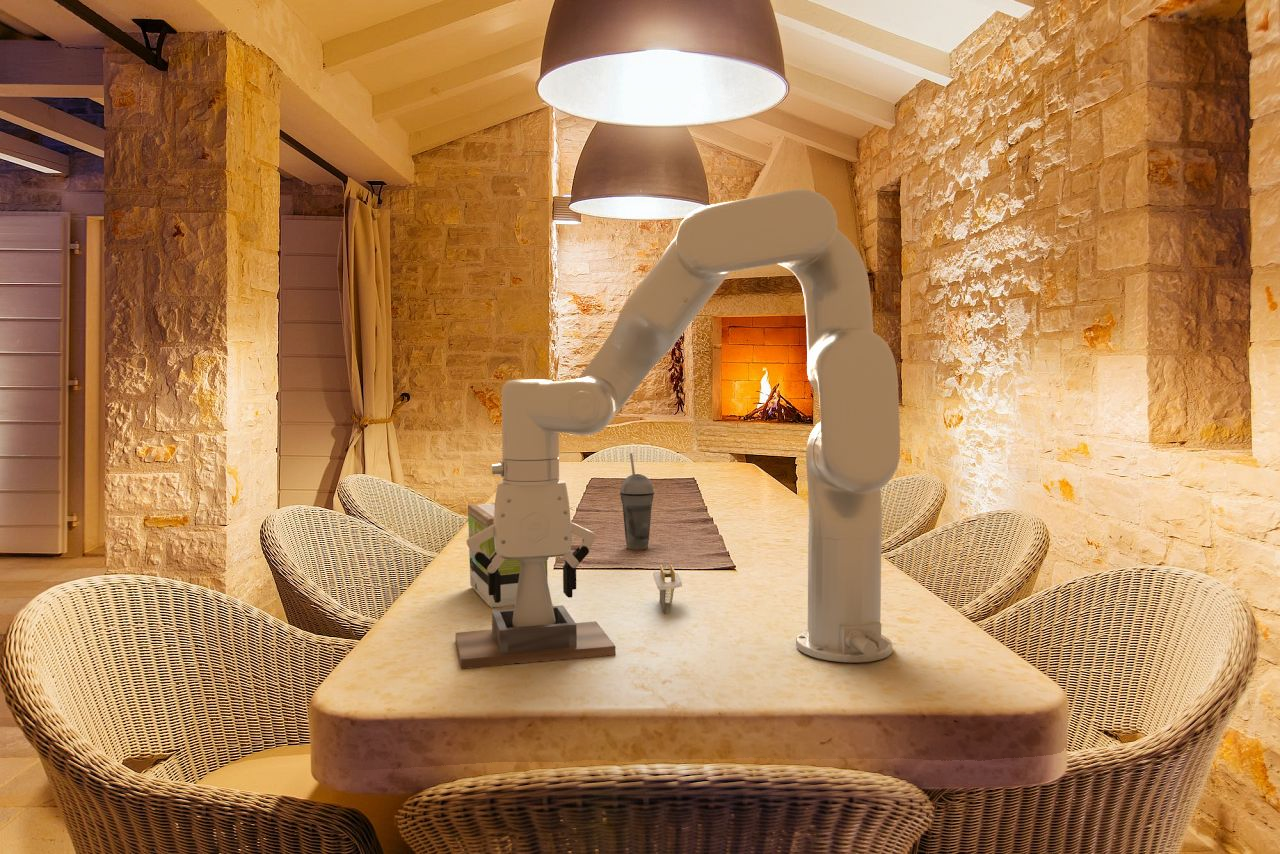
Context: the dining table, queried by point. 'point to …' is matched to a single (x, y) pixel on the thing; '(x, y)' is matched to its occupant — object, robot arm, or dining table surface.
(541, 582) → the salt shaker
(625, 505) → the beverage cup
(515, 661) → the stand
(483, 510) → the tea box
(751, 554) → the dining table surface
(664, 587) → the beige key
